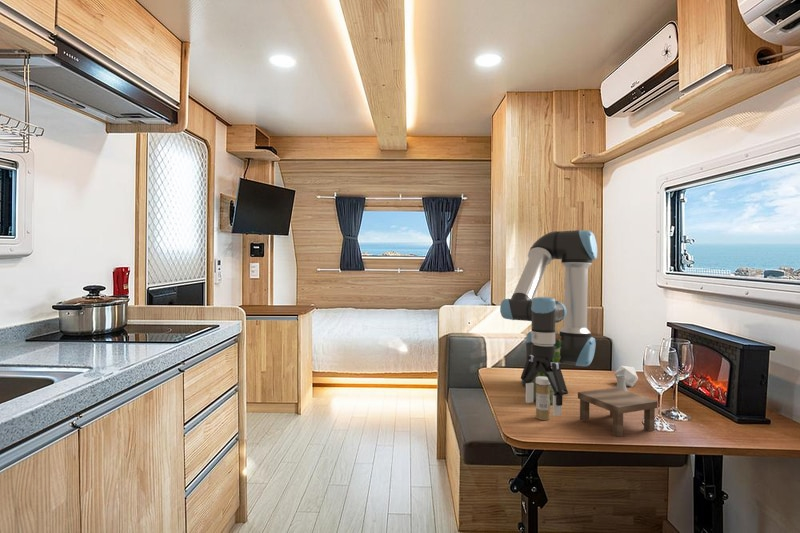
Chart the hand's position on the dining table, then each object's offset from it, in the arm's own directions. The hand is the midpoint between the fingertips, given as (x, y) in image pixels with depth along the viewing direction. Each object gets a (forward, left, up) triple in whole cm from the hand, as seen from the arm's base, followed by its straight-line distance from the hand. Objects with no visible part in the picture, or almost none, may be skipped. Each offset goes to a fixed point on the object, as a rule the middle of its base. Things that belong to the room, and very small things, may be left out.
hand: (542, 408), depth 143 cm
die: (-20, +60, -4) cm, 63 cm away
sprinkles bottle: (0, 0, -4) cm, 4 cm away
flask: (-3, +38, -4) cm, 38 cm away
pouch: (-14, +13, -4) cm, 19 cm away
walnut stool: (+13, +18, -3) cm, 22 cm away
